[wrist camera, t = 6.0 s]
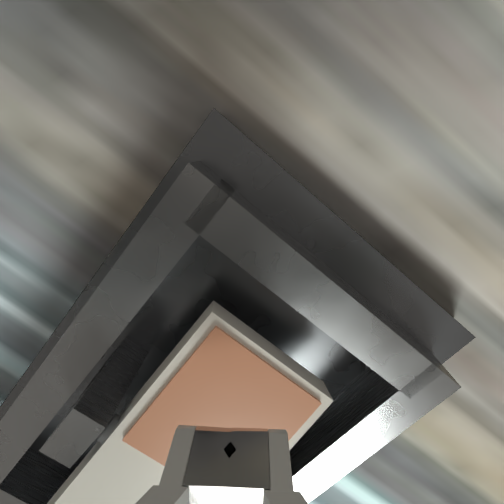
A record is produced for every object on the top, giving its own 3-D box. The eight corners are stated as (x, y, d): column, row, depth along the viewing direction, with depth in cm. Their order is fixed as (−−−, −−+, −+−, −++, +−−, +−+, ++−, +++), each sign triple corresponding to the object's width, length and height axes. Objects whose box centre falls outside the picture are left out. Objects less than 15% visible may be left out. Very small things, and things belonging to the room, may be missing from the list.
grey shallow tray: (183, 545, 20) (155, 683, 15) (-14, 436, 18) (-130, 555, 12) (454, 318, 14) (563, 413, 9) (219, 113, 12) (187, 83, 7)
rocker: (147, 588, 13) (138, 631, 12) (23, 524, 12) (-2, 563, 11) (326, 384, 12) (339, 406, 11) (209, 297, 11) (206, 309, 10)
